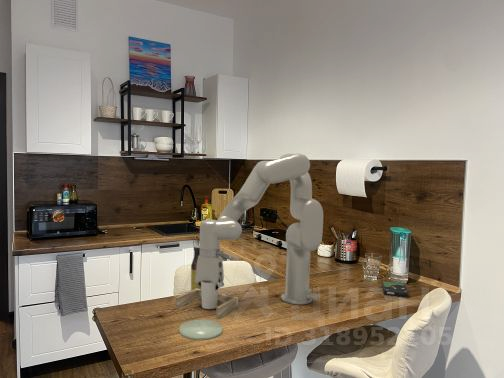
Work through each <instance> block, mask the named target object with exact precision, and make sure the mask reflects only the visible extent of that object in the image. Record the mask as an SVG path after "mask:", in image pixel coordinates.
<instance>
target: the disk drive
mask: <svg viewBox="0 0 504 378" xmlns="http://www.w3.org/2000/svg"><path fill="white" fill-rule="evenodd" d="M381 286H382V293H383V296H387V297H388V296H389V297H397V298H405V299H408V298H409V291H408V290H409V289H408V288H407V284H406V283H403V282H402V283H401V282H393V281H382V285H381Z"/></svg>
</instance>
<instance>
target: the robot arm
mask: <svg viewBox="0 0 504 378" xmlns="http://www.w3.org/2000/svg"><path fill="white" fill-rule="evenodd" d="M310 167H311V162H310V160H309V157H308V156H306V155H305V154H302V153H286V154H282V155H281V156H280V157H279V158H278V159H275V160H261V161H259V162H257V163H256V165H255V166H253V168H252V171H251V172H250V174H249V175H248V177H247V178H246V180H245V182H244V184H243V185H242V186H241V188H240V190H239V191H238V192H237V193H236V195H235V196H233V198H232V199H231V200H229V202H228V203H227V205H226V206H225V207H224V208H223V210H222V211H221V214H220V215H219V217H218V218H217V220H216V219H203V220H202V221H200V223H199V245H200V255H199V256H198V260H197V267H196V278H195V282H196V283H198V284H199V286H200V287H201V281H202V282H205V283H213V284H218V285H216V287H215V288H216V289H215V290H217V289H218V290H219V289H221V288H222V287H224V286H225V283H224V278H225V277H224V276H225V275H224V263H223V257H222V255H223V252H222V251H221V249H220V247H221V240H225V241H235V240H237V239H239V238H240V237H241V235H242V232H243V229H242V228H243V227H242V226H241V223H239V220H240V218H241V217H242V215H243V214H244V213H245V212H246V211H248V210H249V209H251V208H254V207H255V206H257V205H258V204H259V202H260V200H261V199H262V198H263V196H264V194H265V192H266V190H267V189H268V188H269V186H270V184H278V183H283V182H286V181H289V183H290V201H289V202H290V203H289V206H290V207H289V212H290V215H291V217H293V218H294V220H295V219H296V220H297V221H299V222H294V223H292V224H290V225H288V228H287V229H286V233H285V245H286V265H285V266H286V269H285V291H284V293H282V294H281V298H280V299H281V300H282V301H283V302H285V303H287V304H291V305H300V306H301V305H308V304H310V303H312V301H313V300H314V301H318V299H319V295H318V294H317V293H314V292H312V289H311V288H310V287H309V286H310V271H311V270H310V269H311V252H314V251H316V250H318V249H319V247H320V246H321V244H322V242H323V241H322V240H323V230H324V229H323V228H324V227H323V226H324V211H323V207H322V205H321V203H320V201H318V200H316V199H314V198H313V185H312V183H313V182H312V179H311V175H310V173H309V170H310ZM218 282H219V283H218Z"/></svg>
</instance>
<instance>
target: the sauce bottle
mask: <svg viewBox="0 0 504 378" xmlns="http://www.w3.org/2000/svg"><path fill="white" fill-rule="evenodd" d="M193 251H194V253H193V259H192V262H191V265H190V291H192V290H194V289H196V288H197V289H201V287H200V286H199V284H198V283H196V282H195V278H196V267H197V260H198V256H199V255H200V244H199V245H194V246H193Z"/></svg>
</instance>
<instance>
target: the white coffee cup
mask: <svg viewBox="0 0 504 378" xmlns="http://www.w3.org/2000/svg"><path fill="white" fill-rule="evenodd" d="M218 284H219V282H218ZM218 284H213V283H205V282H202V281H201V297H202V301H201V307H202V309H205V310H206V309H207V310H212V309H216V307H218V304H217V300H218V293H219V288H218V289H217V290H215V289H216V288H215V287H216V285H218Z"/></svg>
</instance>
